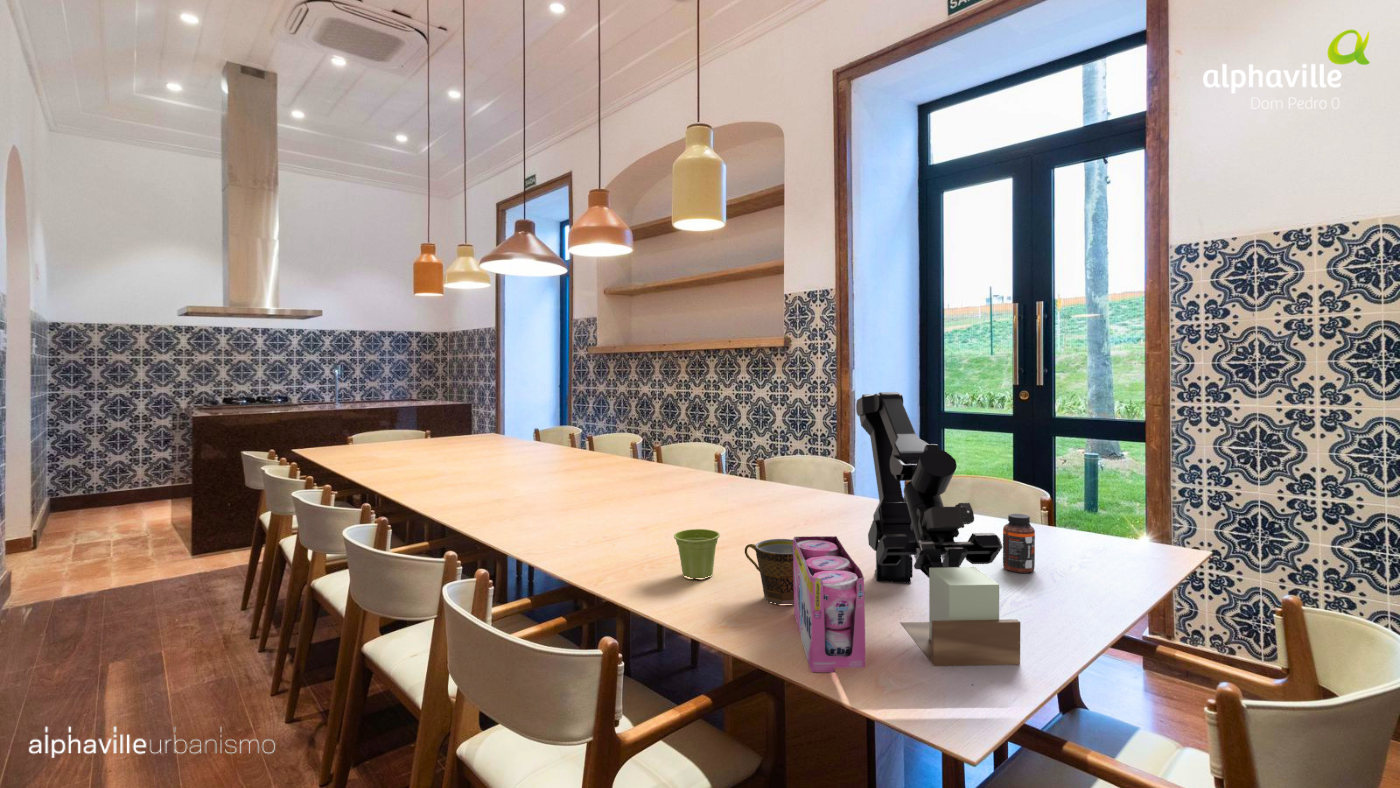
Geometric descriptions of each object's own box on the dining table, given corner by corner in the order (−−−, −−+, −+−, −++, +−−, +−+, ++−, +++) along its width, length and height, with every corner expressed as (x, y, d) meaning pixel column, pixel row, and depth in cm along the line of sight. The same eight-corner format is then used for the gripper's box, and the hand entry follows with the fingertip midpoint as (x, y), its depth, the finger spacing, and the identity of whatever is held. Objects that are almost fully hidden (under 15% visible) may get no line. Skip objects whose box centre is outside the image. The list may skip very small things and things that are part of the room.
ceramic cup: (819, 596, 121) (819, 543, 120) (795, 613, 112) (795, 556, 112) (758, 584, 128) (757, 534, 128) (731, 599, 120) (731, 546, 119)
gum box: (869, 678, 89) (869, 581, 88) (811, 678, 89) (811, 581, 89) (838, 612, 113) (837, 535, 112) (792, 612, 113) (791, 535, 113)
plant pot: (692, 587, 127) (691, 543, 127) (665, 575, 135) (665, 533, 134) (729, 577, 133) (729, 535, 132) (702, 566, 140) (701, 526, 140)
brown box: (900, 627, 106) (900, 586, 106) (973, 626, 106) (973, 585, 106) (934, 671, 91) (934, 623, 90) (1020, 670, 91) (1020, 622, 90)
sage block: (929, 638, 100) (929, 567, 99) (975, 637, 100) (975, 567, 99) (949, 662, 92) (949, 585, 91) (999, 661, 92) (999, 584, 91)
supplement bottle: (1038, 574, 131) (1039, 519, 131) (1007, 573, 132) (1007, 518, 132) (1029, 565, 137) (1030, 512, 137) (999, 564, 138) (999, 511, 138)
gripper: (881, 485, 104) (902, 576, 93) (997, 483, 104) (1032, 574, 93) (868, 521, 112) (886, 608, 102) (976, 520, 112) (1005, 607, 102)
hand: (951, 599), depth 99 cm, fingers closed, pressing on sage block
